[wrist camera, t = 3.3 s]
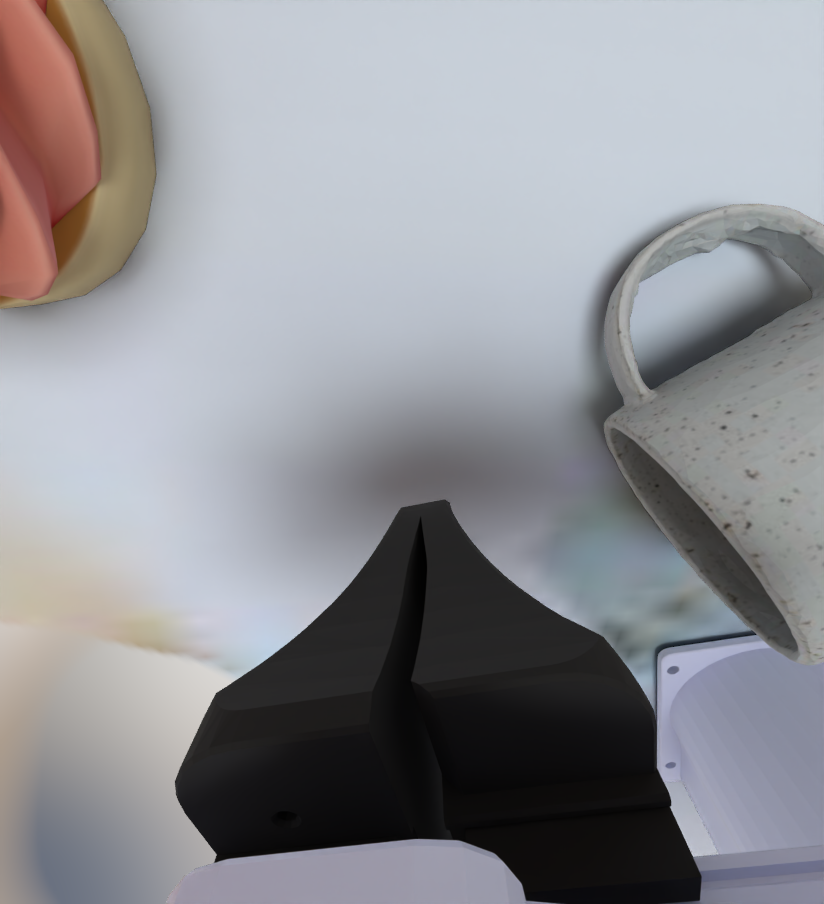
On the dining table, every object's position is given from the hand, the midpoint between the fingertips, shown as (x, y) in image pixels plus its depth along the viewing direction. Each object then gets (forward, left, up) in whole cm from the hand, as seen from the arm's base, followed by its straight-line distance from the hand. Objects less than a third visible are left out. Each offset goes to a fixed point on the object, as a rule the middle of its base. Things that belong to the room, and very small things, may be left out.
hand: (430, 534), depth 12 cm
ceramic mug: (+1, -10, -5) cm, 11 cm away
